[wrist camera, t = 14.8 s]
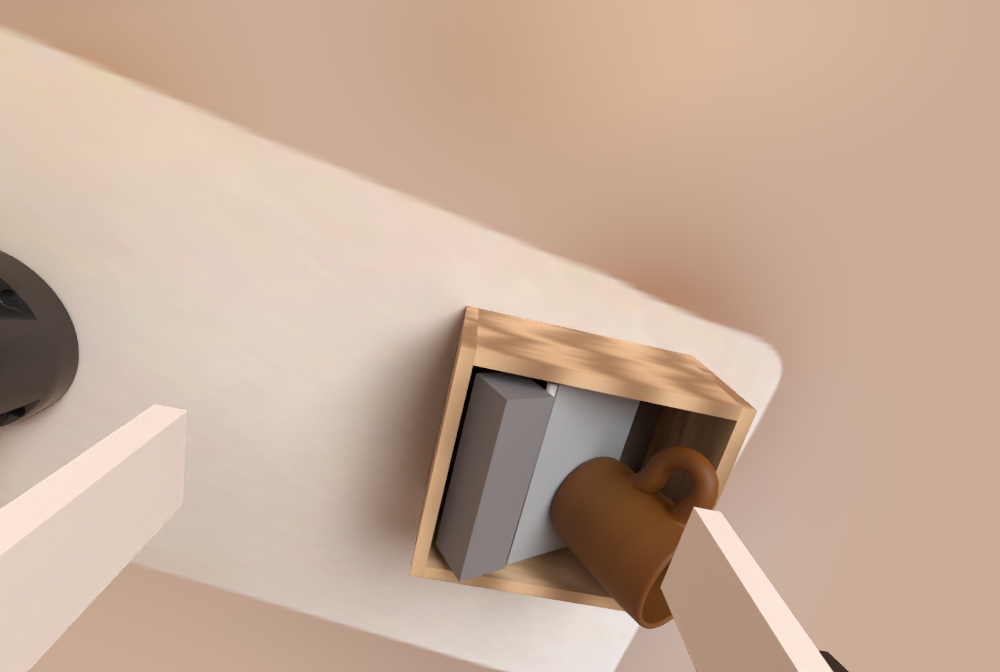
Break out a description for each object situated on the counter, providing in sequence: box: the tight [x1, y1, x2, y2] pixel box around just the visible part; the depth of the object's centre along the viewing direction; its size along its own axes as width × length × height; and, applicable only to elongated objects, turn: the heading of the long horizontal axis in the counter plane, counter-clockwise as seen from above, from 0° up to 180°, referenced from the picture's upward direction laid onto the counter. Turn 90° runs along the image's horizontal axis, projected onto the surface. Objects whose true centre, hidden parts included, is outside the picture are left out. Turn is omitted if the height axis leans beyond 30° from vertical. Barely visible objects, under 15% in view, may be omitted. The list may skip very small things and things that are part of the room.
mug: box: [551, 446, 719, 629], centre depth 35 cm, size 12×8×9 cm
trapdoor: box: [436, 373, 640, 582], centre depth 37 cm, size 14×15×4 cm
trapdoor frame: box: [410, 306, 757, 611], centre depth 39 cm, size 20×18×10 cm
